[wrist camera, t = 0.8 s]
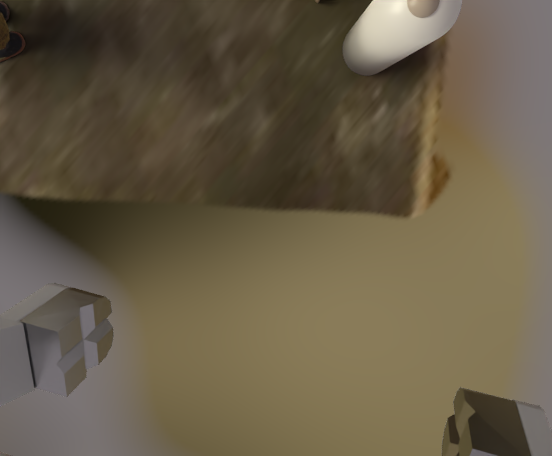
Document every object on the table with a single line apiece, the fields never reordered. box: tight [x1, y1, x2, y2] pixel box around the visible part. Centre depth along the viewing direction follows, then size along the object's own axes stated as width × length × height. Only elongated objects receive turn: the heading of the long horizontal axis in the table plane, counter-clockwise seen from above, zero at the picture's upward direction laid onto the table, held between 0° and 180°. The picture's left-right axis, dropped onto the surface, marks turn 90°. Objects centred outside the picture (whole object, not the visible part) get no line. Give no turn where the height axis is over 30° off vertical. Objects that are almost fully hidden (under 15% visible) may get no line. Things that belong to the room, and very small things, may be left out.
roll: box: [342, 0, 462, 76], centre depth 36 cm, size 5×5×16 cm
